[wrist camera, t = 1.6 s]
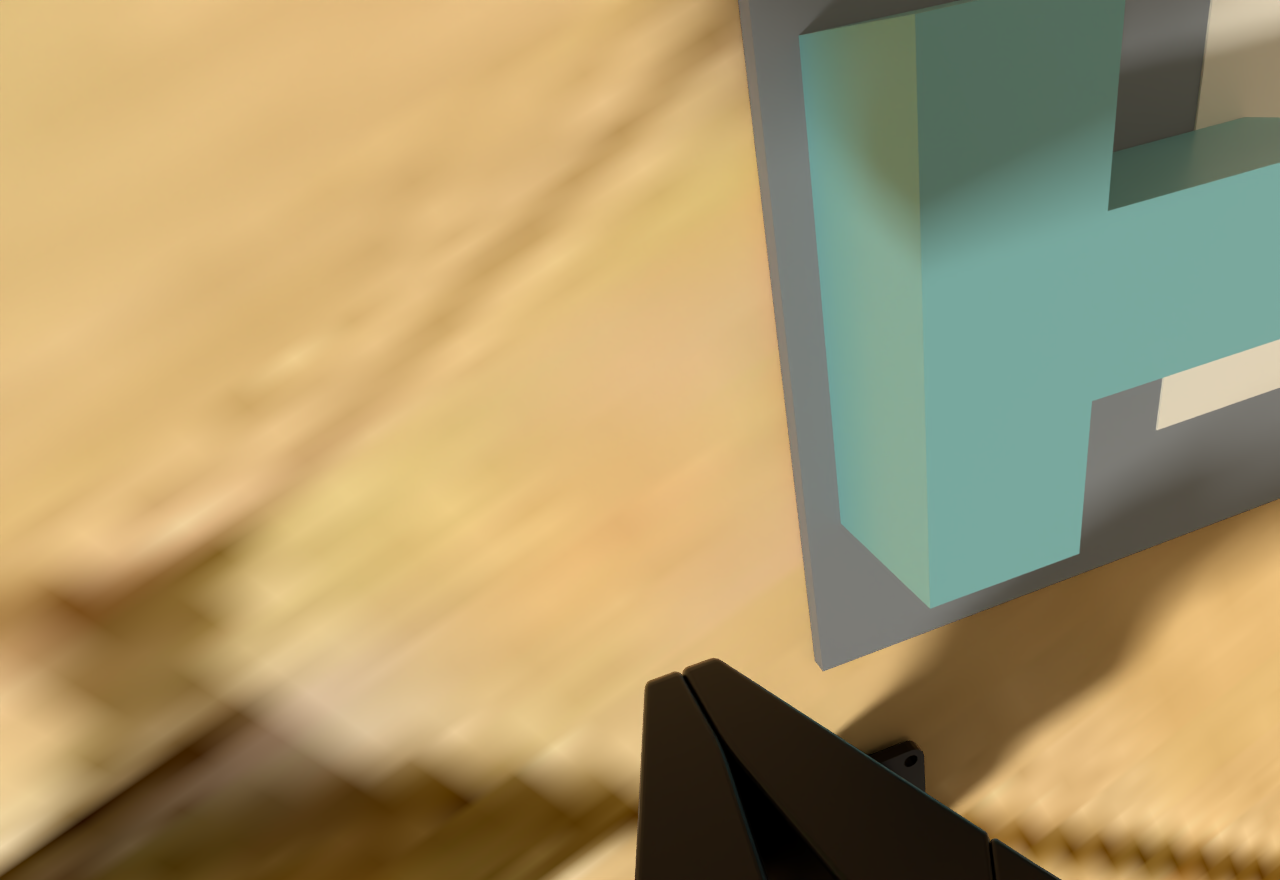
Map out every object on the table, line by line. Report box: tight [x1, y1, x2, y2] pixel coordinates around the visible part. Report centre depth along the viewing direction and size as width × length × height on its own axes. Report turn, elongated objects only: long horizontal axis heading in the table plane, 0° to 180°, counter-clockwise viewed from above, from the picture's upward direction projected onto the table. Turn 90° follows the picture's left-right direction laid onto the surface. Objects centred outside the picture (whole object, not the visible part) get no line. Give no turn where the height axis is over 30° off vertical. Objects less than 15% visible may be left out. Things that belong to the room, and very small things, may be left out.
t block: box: [799, 0, 1280, 609], centre depth 17 cm, size 12×12×4 cm
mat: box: [738, 0, 1280, 671], centre depth 20 cm, size 22×26×1 cm
